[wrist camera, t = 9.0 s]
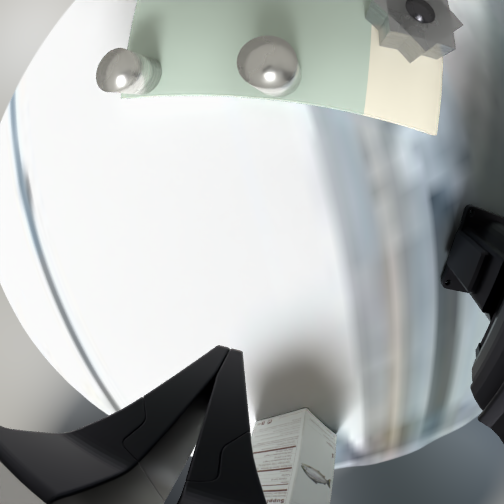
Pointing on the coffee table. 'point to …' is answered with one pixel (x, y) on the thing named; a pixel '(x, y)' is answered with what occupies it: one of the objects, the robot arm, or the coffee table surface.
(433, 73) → the mat
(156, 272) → the coffee table surface
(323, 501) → the supplement box
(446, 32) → the gear
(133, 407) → the robot arm
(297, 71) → the spacer field
